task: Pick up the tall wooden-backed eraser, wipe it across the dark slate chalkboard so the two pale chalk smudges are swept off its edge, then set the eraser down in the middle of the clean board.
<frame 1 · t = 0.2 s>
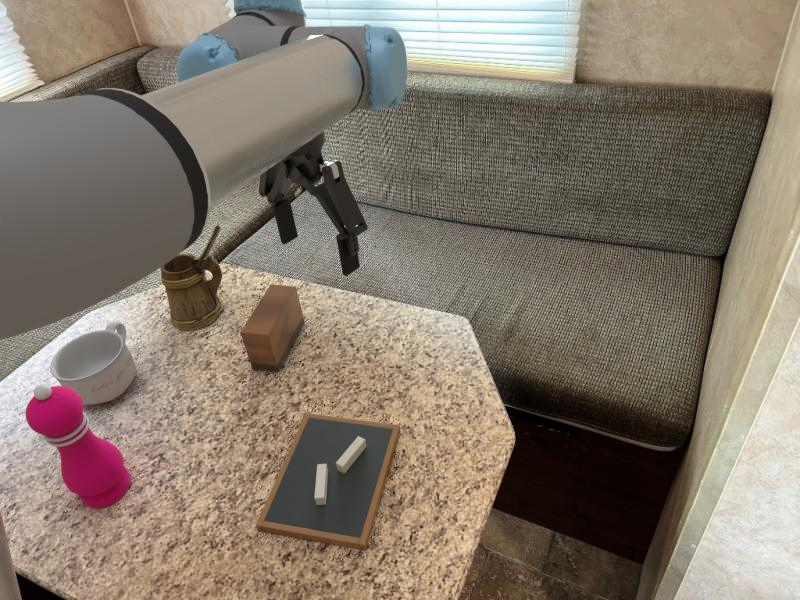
hand: (319, 254, 90), 17 cm above the table, tool pointing down, fingers open, 13 cm apart
chalk streak 2: (352, 458, 81), point 1 cm above the table, touching chalkboard
chalk streak 1: (322, 487, 78), point 1 cm above the table, touching chalkboard
wooden mug: (210, 314, 109), on the table
eraser: (279, 345, 101), on the table
pepper mill: (107, 488, 82), on the table
teacup: (114, 382, 98), on the table
chalkboard: (333, 477, 80), on the table
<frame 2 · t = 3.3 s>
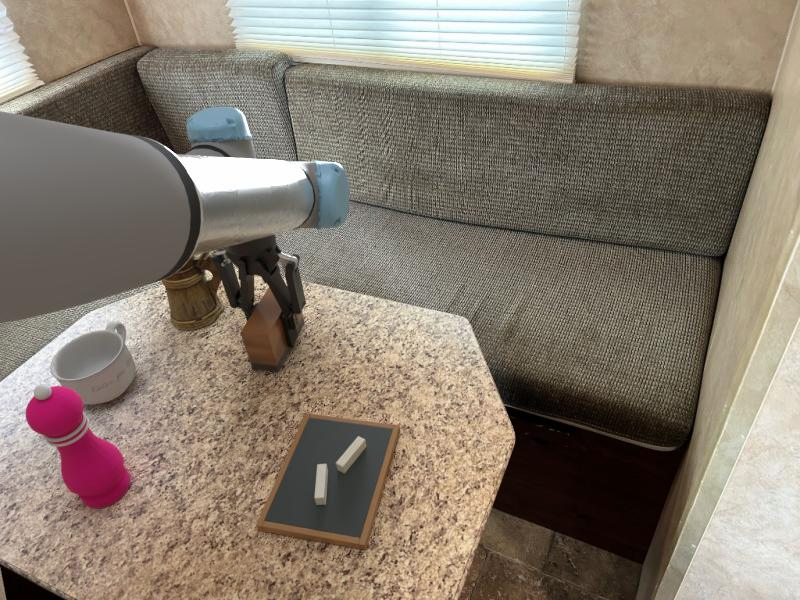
hand: (278, 339, 100), 1 cm above the table, tool pointing down, fingers closed on eraser, 5 cm apart
eraser: (279, 345, 101), on the table, touching gripper
everything else where it was.
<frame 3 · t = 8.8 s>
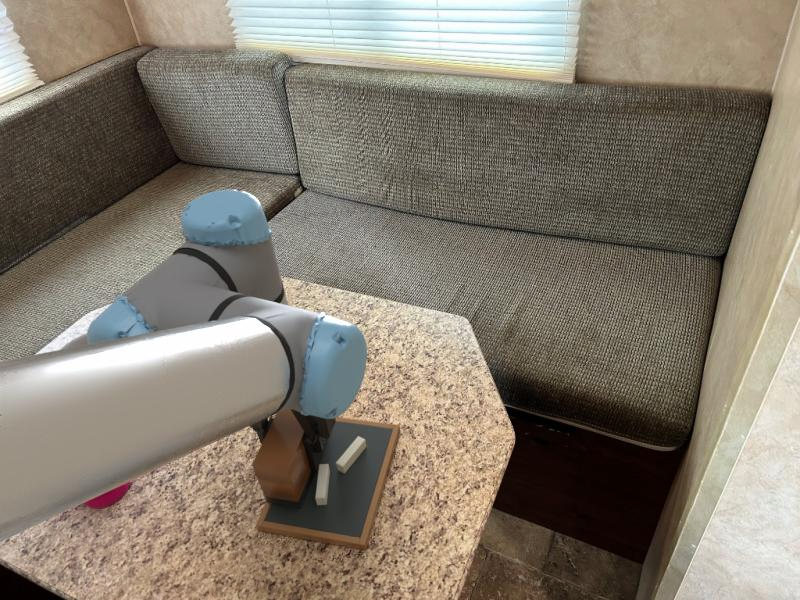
hand: (298, 460, 79), 3 cm above the table, tool pointing down, fingers closed on eraser, 5 cm apart
chalk streak 1: (323, 487, 77), point 1 cm above the table, touching gripper
eraser: (300, 465, 80), point 1 cm above the table, touching gripper
everything else where it was.
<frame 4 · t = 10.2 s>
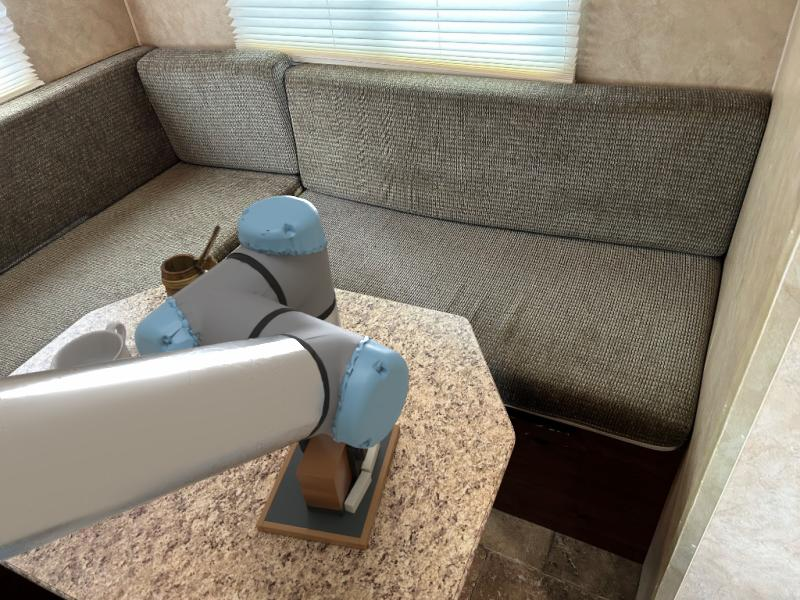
hand: (338, 468, 78), 2 cm above the table, tool pointing down, fingers closed on eraser, 5 cm apart
chalk streak 2: (371, 460, 80), point 1 cm above the table, touching chalkboard, gripper
chalk streak 1: (358, 495, 76), point 1 cm above the table, touching chalkboard
eraser: (339, 473, 79), point 1 cm above the table, touching gripper
everything else where it was.
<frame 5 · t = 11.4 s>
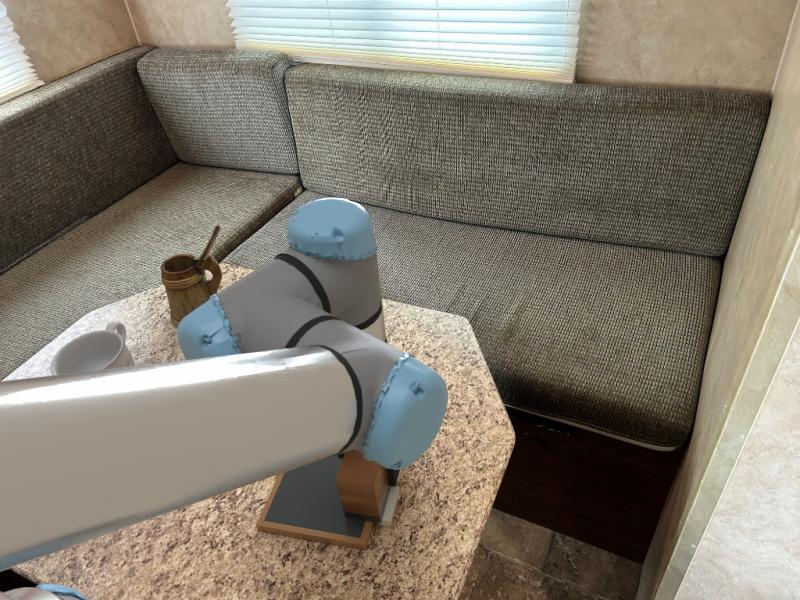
hand: (374, 474, 77), 2 cm above the table, tool pointing down, fingers closed on eraser, 5 cm apart
chalk streak 2: (391, 463, 80), point 1 cm above the table, tilted 90°
chalk streak 1: (382, 503, 76), point 1 cm above the table, tilted 90°
eraser: (375, 478, 78), point 1 cm above the table, touching gripper
everything else where it was.
when the fingers open (2 cm above the table, at t = 19.2 s): eraser stays where it is, resting on chalkboard.
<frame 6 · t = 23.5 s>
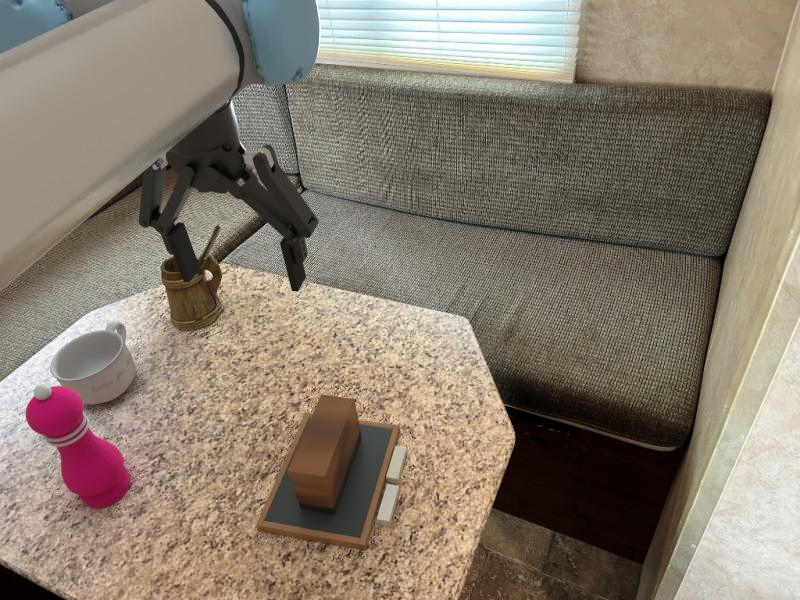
hand: (244, 279, 70), 27 cm above the table, tool pointing down, fingers open, 13 cm apart
eraser: (332, 471, 79), point 1 cm above the table, touching chalkboard
everything else where it was.
at the end: chalk streak 1 touching table; chalk streak 2 touching table; eraser inside the target area on the chalkboard (0.1 cm from its centre), point 1.2 cm above the chalkboard's base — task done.
